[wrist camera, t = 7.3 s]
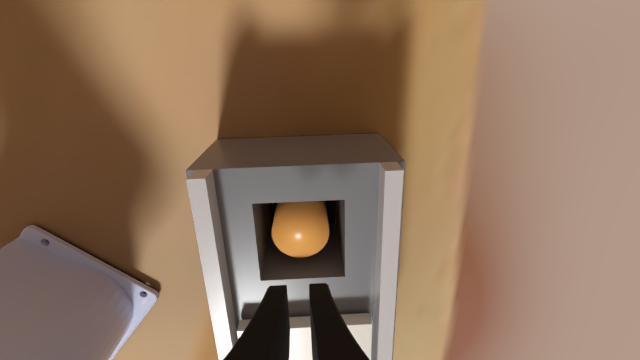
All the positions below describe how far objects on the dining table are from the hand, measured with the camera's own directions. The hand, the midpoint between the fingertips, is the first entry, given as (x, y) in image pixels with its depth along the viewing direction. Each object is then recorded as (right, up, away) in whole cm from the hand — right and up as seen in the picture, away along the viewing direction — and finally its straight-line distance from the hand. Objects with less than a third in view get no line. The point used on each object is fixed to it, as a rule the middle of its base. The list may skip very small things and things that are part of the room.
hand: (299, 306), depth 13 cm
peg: (0, +4, +10) cm, 10 cm away
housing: (0, 0, +11) cm, 11 cm away
